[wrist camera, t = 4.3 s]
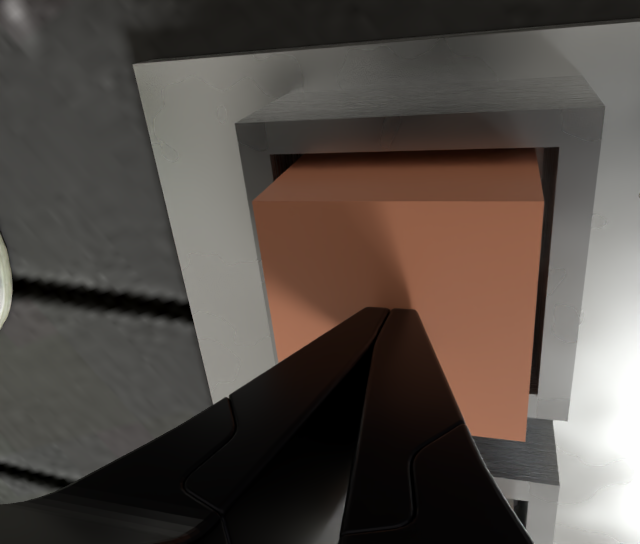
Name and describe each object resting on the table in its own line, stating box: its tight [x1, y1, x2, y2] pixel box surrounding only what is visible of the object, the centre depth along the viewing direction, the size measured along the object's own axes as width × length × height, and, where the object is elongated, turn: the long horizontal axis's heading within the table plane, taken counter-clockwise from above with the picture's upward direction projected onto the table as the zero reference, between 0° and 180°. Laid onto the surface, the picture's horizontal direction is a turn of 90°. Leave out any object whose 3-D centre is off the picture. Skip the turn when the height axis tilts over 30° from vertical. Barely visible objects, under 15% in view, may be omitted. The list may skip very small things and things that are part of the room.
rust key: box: [252, 147, 544, 442], centre depth 11 cm, size 4×4×3 cm
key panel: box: [133, 18, 640, 544], centre depth 16 cm, size 14×24×4 cm, turn 6°
